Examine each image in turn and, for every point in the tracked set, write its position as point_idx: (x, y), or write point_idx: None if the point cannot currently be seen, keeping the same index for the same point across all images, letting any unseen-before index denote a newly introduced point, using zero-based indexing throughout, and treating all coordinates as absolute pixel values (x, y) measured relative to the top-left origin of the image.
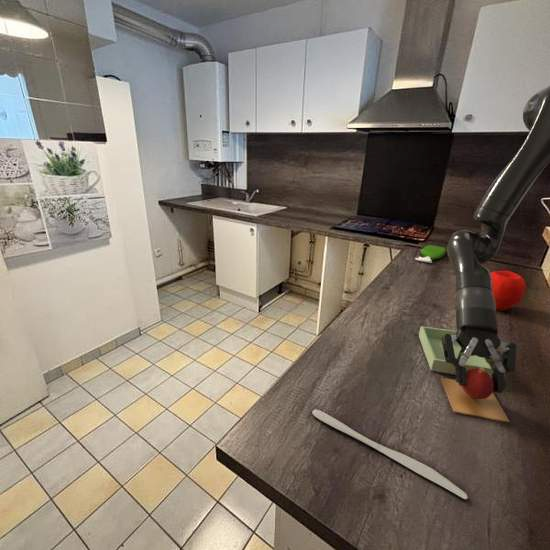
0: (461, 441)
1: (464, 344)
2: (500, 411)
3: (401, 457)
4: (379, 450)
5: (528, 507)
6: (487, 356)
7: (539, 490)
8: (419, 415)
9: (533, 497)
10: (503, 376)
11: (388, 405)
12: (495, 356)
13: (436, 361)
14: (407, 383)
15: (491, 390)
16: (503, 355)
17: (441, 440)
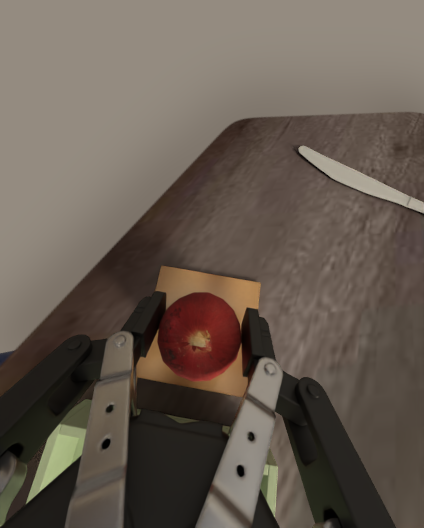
0: (270, 223)
1: (268, 514)
2: (162, 289)
3: (374, 188)
4: (406, 195)
5: (227, 146)
6: (146, 410)
7: (199, 163)
8: (328, 270)
9: (213, 156)
10: (125, 325)
11: (386, 290)
12: (112, 398)
13: (266, 460)
14: (337, 366)
15: (181, 297)
16: (36, 446)
17: (303, 223)
